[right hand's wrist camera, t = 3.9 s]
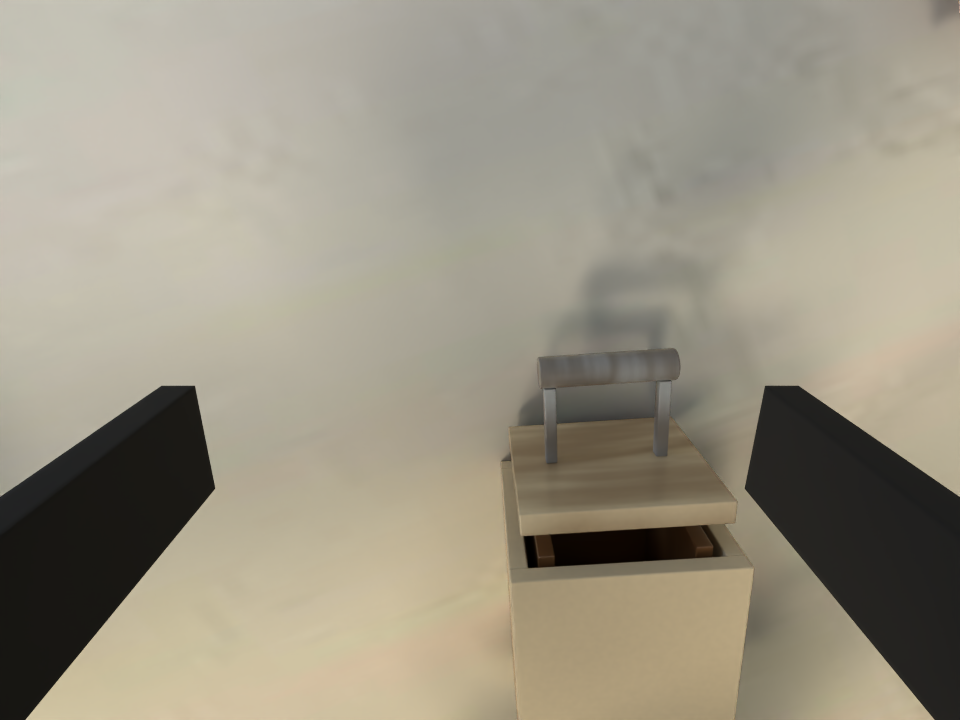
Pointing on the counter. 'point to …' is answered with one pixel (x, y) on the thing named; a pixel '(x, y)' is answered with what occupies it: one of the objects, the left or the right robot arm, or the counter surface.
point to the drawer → (613, 473)
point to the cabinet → (627, 632)
